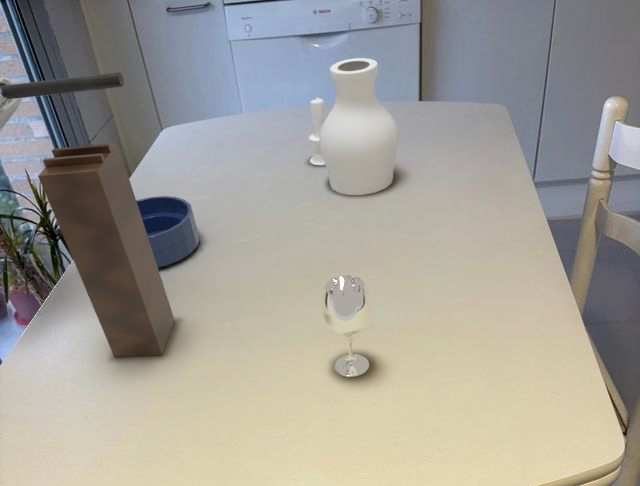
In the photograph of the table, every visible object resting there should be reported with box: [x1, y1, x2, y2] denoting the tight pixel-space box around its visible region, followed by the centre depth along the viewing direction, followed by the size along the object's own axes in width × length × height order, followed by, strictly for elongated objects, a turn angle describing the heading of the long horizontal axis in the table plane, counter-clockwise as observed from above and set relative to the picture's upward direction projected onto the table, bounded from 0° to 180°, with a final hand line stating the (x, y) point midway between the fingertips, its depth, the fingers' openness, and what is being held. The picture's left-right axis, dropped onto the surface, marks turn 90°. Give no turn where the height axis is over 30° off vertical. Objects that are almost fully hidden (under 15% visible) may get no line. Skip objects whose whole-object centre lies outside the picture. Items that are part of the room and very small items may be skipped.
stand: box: [37, 142, 176, 358], centre depth 84 cm, size 7×8×27 cm
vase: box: [319, 57, 399, 196], centre depth 115 cm, size 14×14×20 cm
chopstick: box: [0, 71, 125, 100], centre depth 81 cm, size 20×2×2 cm, turn 86°
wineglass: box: [322, 274, 372, 378], centre depth 79 cm, size 6×6×12 cm
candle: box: [308, 97, 327, 166], centre depth 127 cm, size 5×5×12 cm
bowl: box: [136, 195, 201, 268], centre depth 110 cm, size 15×15×6 cm
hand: (5, 87), depth 82 cm, fingers closed on chopstick, 2 cm apart
